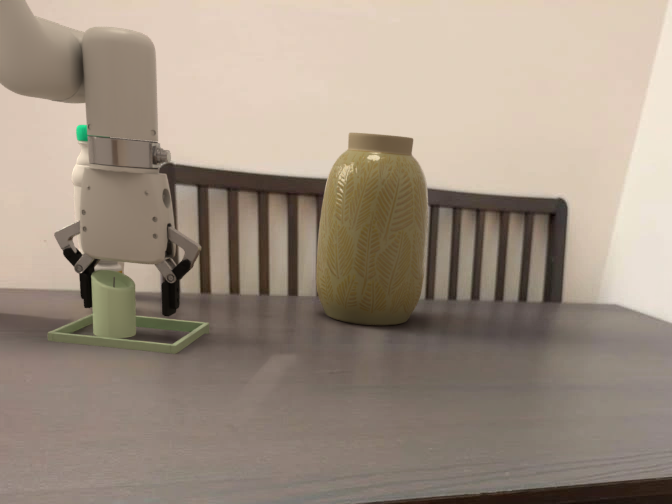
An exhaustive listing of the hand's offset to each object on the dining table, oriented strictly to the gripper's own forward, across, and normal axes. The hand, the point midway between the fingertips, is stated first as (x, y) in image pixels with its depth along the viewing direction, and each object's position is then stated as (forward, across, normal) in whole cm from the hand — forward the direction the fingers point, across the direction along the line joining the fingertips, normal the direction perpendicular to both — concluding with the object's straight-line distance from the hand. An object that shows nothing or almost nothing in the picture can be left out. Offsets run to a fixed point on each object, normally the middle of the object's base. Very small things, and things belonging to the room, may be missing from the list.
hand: (130, 310), depth 89 cm
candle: (+4, +2, 0) cm, 5 cm away
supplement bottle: (+5, +12, -20) cm, 24 cm away
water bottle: (+5, +17, -30) cm, 35 cm away
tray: (+5, 0, 0) cm, 5 cm away
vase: (+5, -26, -33) cm, 42 cm away
